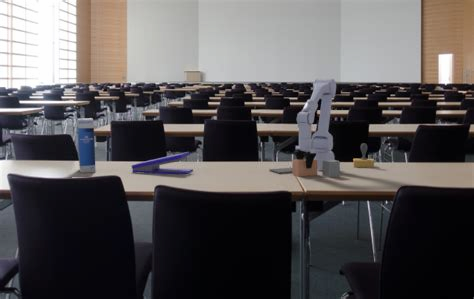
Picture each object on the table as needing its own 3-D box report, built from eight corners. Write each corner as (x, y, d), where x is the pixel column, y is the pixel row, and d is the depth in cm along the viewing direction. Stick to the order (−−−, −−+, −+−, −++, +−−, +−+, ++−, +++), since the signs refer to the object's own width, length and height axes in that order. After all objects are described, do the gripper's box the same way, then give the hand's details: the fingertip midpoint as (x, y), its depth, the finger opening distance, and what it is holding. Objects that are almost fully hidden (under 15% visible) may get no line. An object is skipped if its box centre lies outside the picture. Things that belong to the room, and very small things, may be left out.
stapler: (185, 175, 250) (185, 154, 248) (130, 173, 257) (130, 153, 255) (193, 171, 261) (193, 151, 259) (141, 169, 268) (140, 150, 266)
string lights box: (96, 172, 258) (93, 119, 255) (79, 173, 256) (77, 119, 253) (94, 168, 271) (92, 117, 268) (79, 169, 269) (76, 118, 266)
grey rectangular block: (332, 174, 245) (333, 159, 244) (339, 176, 240) (339, 161, 239) (322, 175, 243) (322, 160, 242) (328, 177, 238) (329, 161, 237)
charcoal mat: (291, 169, 262) (291, 167, 262) (301, 172, 253) (301, 170, 253) (269, 170, 257) (269, 169, 257) (278, 174, 248) (278, 172, 248)
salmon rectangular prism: (311, 173, 250) (311, 158, 249) (317, 174, 245) (317, 159, 244) (292, 174, 246) (292, 159, 245) (298, 176, 241) (298, 161, 240)
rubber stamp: (373, 166, 270) (373, 142, 269) (373, 167, 265) (374, 143, 263) (353, 165, 272) (353, 142, 271) (353, 167, 267) (353, 143, 265)
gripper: (289, 136, 249) (289, 165, 250) (305, 139, 235) (305, 169, 237) (303, 136, 251) (302, 164, 253) (319, 138, 238) (318, 168, 239)
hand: (304, 167), depth 245 cm, fingers open, 7 cm apart
